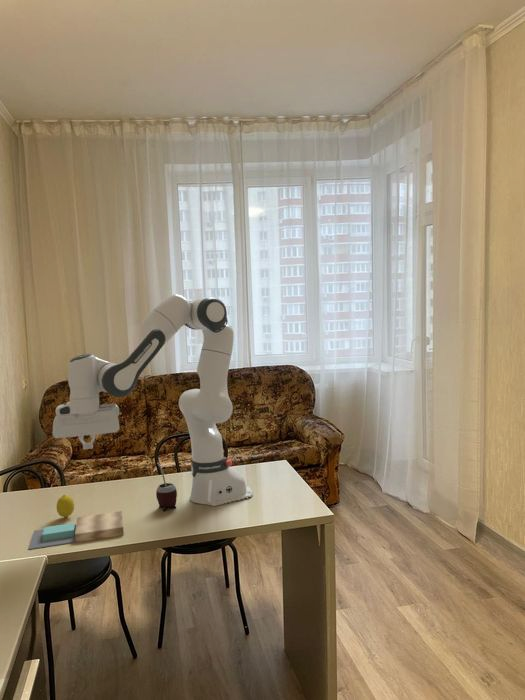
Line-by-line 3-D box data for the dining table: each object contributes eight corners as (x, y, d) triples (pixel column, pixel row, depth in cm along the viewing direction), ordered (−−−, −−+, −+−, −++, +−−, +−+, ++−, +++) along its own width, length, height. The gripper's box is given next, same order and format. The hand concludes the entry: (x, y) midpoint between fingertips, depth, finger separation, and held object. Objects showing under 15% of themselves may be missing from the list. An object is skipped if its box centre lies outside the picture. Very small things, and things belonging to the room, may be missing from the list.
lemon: (57, 516, 183) (55, 493, 182) (74, 513, 185) (73, 491, 184) (57, 522, 178) (55, 498, 177) (75, 519, 180) (73, 496, 179)
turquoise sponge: (75, 528, 171) (74, 522, 171) (74, 536, 165) (73, 530, 165) (45, 533, 168) (44, 527, 168) (42, 541, 163) (42, 534, 163)
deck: (122, 518, 179) (121, 511, 178) (123, 534, 165) (123, 527, 165) (77, 525, 175) (77, 517, 175) (75, 542, 161) (74, 534, 161)
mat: (77, 525, 175) (77, 524, 175) (75, 542, 161) (75, 541, 161) (34, 531, 171) (34, 530, 171) (28, 549, 158) (28, 548, 158)
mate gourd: (173, 512, 182) (170, 468, 181) (151, 511, 184) (148, 468, 183) (181, 504, 190) (178, 462, 188) (160, 503, 191) (157, 462, 190)
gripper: (118, 401, 177) (121, 442, 178) (52, 407, 171) (55, 449, 173) (119, 404, 171) (121, 447, 172) (50, 410, 165) (53, 454, 166)
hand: (88, 448), depth 172 cm, fingers closed
